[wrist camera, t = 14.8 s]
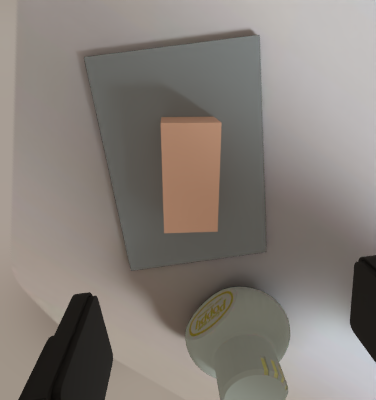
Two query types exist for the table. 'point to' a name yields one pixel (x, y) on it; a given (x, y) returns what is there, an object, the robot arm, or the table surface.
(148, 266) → the mat
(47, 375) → the robot arm
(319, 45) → the table surface
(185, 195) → the card box
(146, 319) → the table surface
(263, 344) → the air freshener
